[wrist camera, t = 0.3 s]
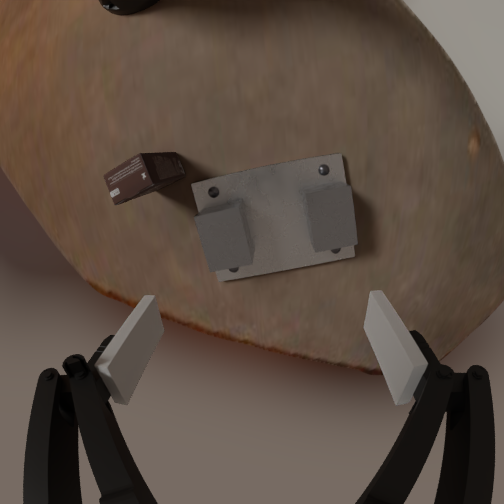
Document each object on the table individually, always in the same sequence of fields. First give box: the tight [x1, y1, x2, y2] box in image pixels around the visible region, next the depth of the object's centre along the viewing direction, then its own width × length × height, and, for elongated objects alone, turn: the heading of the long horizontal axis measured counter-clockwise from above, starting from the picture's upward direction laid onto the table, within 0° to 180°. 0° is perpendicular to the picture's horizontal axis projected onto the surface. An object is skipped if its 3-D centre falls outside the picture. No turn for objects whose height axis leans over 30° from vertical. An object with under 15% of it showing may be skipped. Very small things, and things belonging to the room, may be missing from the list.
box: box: [104, 152, 186, 205], centre depth 33 cm, size 6×4×12 cm
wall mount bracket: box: [191, 153, 358, 282], centre depth 38 cm, size 16×22×6 cm
